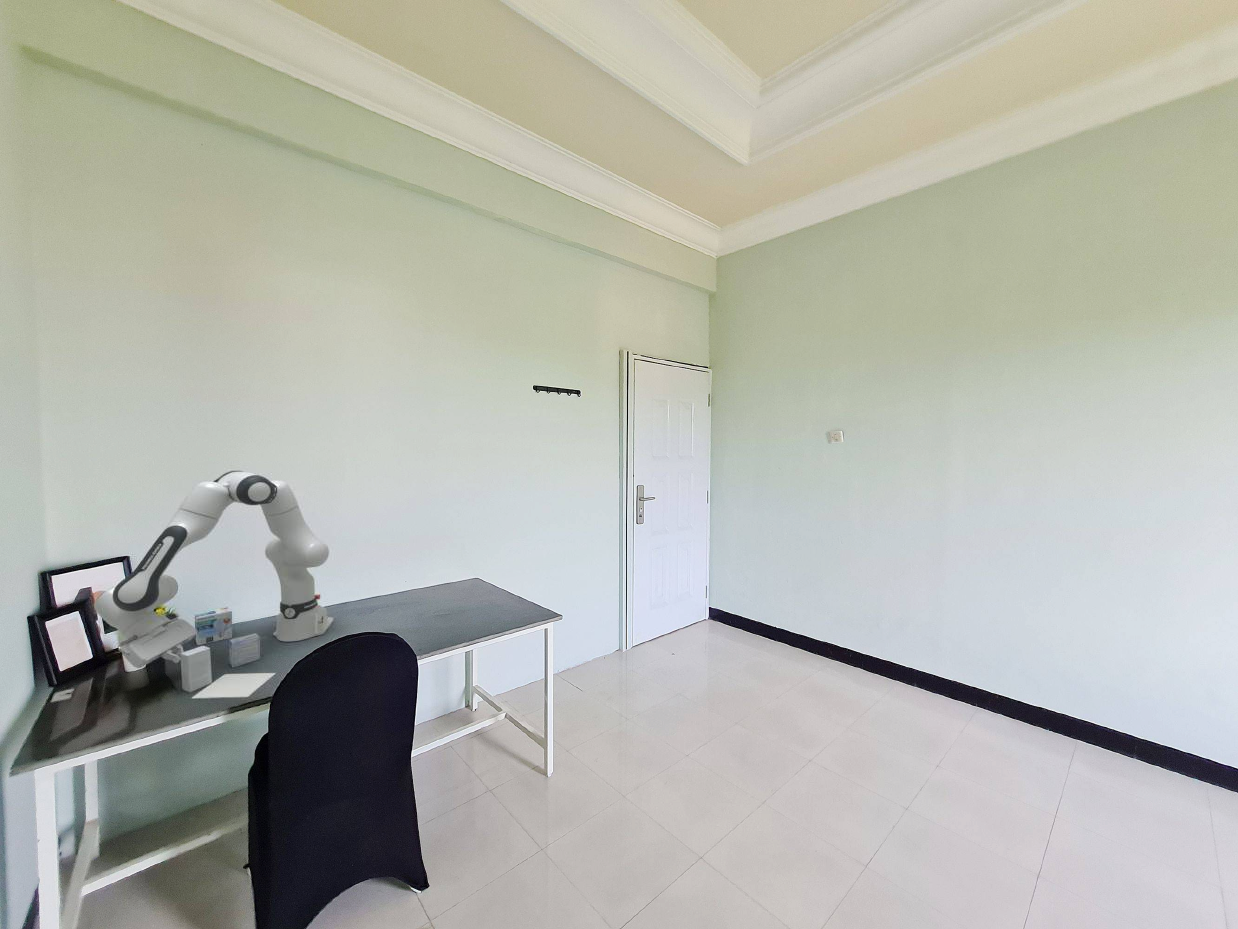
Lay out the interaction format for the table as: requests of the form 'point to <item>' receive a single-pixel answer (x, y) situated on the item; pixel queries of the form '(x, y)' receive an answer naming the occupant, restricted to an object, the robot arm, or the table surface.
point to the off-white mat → (234, 686)
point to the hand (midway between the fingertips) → (182, 659)
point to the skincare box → (196, 668)
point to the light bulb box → (213, 625)
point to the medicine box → (244, 650)
